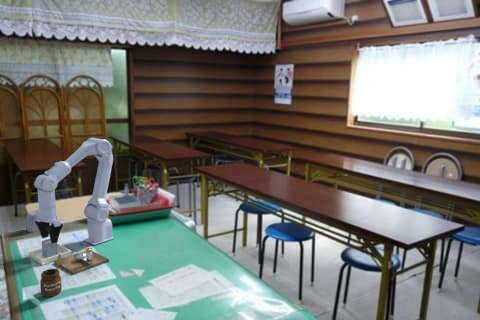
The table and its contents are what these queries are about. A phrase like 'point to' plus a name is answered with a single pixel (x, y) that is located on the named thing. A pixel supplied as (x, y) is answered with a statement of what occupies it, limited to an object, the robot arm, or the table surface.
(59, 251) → the tray
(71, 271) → the crank base
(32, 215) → the stone block
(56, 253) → the block
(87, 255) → the crank
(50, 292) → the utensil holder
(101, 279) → the table surface
